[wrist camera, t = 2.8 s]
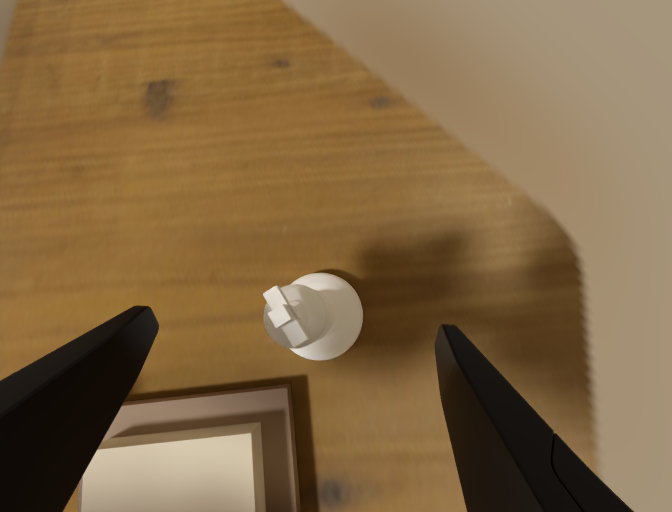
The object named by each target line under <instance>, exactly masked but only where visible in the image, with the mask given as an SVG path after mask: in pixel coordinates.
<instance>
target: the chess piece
mask: <svg viewBox="0 0 672 512" xmlns="http://www.w3.org/2000/svg"><path fill="white" fill-rule="evenodd" d="M263 295H264V297H265V299H266V301H267V303H266V306H265V309H264V325H265V329H266V331H267V333H268V335H269V336H270V337H271V339H272V340H273V341H275V342H276V343H277V344H279V345H281V346H283V347H286V348H290V349H291V350H292V351H293V352H294V353H296V354H298V355H299V356H301V357H304V358H307V359H311V360H328V359H332V358H335V357H337V356H339V355H341V354H343V353H344V352H346V351H347V350H348V349H349V348H350V347H351V346H352V345H353V344H354V342H355V341H356V339H357V338H358V336H359V333H360V331H361V327H362V323H363V309H362V305H361V302H360V299H359V297H358V295H357V293H356V291H355V290H354V289H353V288H352V286H351V285H350V284H349V283H347V282H346V281H345V280H343V279H342V278H340V277H338V276H335V275H333V274H328V273H312V274H308V275H305V276H302V277H300V278H299V279H297V280H295V281H294V282H293V283H292V284H291V285H287V286H284V287H282V288H280V287H279V286H274V287H273V288H271V289H270V290H268V291H266V292H265V293H263Z"/></svg>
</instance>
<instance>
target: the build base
mask: <svg viewBox="0 0 672 512" xmlns="http://www.w3.org/2000/svg"><path fill="white" fill-rule="evenodd" d="M78 512H301V504H300V492H299V479H298V467H297V454H296V442H295V429H294V417H293V404H292V392H291V383H290V384H281V385H272V386H263V387H254V388H245V389H236V390H227V391H218V392H209V393H200V394H191V395H182V396H173V397H164V398H156V399H147V400H138V401H129V402H124V403H123V405H122V407H121V408H120V410H119V412H118V414H117V416H116V417H115V419H114V421H113V423H112V424H111V426H110V428H109V430H108V432H107V433H106V435H105V437H104V439H103V441H102V442H101V444H100V446H99V448H98V450H97V451H96V453H95V455H94V457H93V458H92V460H91V462H90V464H89V466H88V467H87V469H86V471H85V473H84V475H83V476H82V478H81V480H80V482H79V497H78Z"/></svg>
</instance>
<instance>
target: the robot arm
mask: <svg viewBox="0 0 672 512" xmlns="http://www.w3.org/2000/svg"><path fill="white" fill-rule="evenodd" d="M158 329H159V324H158V321H157V319H156V317H155V315H154V313H153V311H152V309H151V308H150V307H149V306H133V307H132V308H130V309H128V310H126V311H124V312H123V313H121V314H119V315H117V316H115V317H114V318H112V319H110V320H108V321H106V322H105V323H103V324H101V325H99V326H98V327H96V328H94V329H92V330H90V331H89V332H87V333H85V334H83V335H81V336H80V337H78V338H76V339H74V340H72V341H71V342H69V343H67V344H65V345H63V346H62V347H60V348H58V349H56V350H55V351H53V352H51V353H49V354H47V355H46V356H44V357H42V358H40V359H38V360H37V361H35V362H33V363H31V364H29V365H28V366H26V367H24V368H22V369H20V370H19V371H17V372H15V373H13V374H12V375H10V376H8V377H6V378H4V379H3V380H1V381H0V512H63V510H64V508H65V507H66V505H67V503H68V501H69V500H70V498H71V496H72V494H73V492H74V491H75V489H76V487H77V485H78V483H79V482H80V480H81V478H82V476H83V475H84V473H85V471H86V469H87V467H88V466H89V464H90V462H91V460H92V458H93V457H94V455H95V453H96V451H97V450H98V448H99V446H100V444H101V442H102V441H103V439H104V437H105V435H106V433H107V432H108V430H109V428H110V426H111V424H112V423H113V421H114V419H115V417H116V416H117V414H118V412H119V410H120V408H121V407H122V405H123V403H124V401H125V399H126V398H127V396H128V394H129V392H130V391H131V389H132V387H133V385H134V383H135V381H136V380H137V378H138V376H139V374H140V371H141V369H142V367H143V365H144V363H145V360H146V358H147V356H148V353H149V351H150V349H151V347H152V344H153V342H154V340H155V337H156V335H157V333H158ZM435 355H436V364H437V372H438V380H439V389H440V396H441V402H442V407H443V411H444V415H445V420H446V424H447V428H448V432H449V436H450V441H451V445H452V449H453V453H454V458H455V462H456V466H457V470H458V475H459V479H460V483H461V487H462V492H463V496H464V500H465V504H466V508H467V512H634V511H633V510H631V509H630V508H629V507H628V506H627V505H626V504H625V503H624V502H623V501H622V500H621V499H620V498H619V497H618V496H617V495H616V494H615V493H614V492H612V490H611V489H610V488H609V487H608V486H607V485H606V484H604V483H603V482H602V481H601V480H600V479H599V478H598V477H597V476H596V475H595V474H594V473H593V472H592V471H591V470H590V469H589V468H588V467H587V466H586V465H585V463H584V462H583V461H582V460H581V459H580V458H579V457H578V456H577V455H576V454H575V453H574V452H573V451H572V450H571V449H570V448H569V447H568V446H567V445H566V444H565V442H564V441H563V440H562V439H561V438H560V437H559V436H558V435H557V434H555V433H554V432H553V430H552V429H551V428H550V426H549V425H548V424H547V423H546V422H545V421H544V420H543V419H542V418H541V417H540V416H539V415H538V413H537V412H536V411H535V410H534V409H533V408H532V407H531V406H530V405H529V404H528V403H527V402H526V401H525V399H524V398H523V397H522V396H521V395H520V394H519V393H518V392H517V391H516V390H515V389H514V388H513V387H512V385H511V384H510V383H509V382H508V381H507V380H506V379H505V378H504V377H503V376H502V375H501V374H500V372H499V371H498V370H497V369H496V368H495V367H494V366H493V365H492V364H491V363H490V362H489V361H488V360H487V358H486V357H485V356H484V355H483V354H482V353H481V352H480V351H479V350H478V349H477V348H476V347H475V345H474V344H473V343H472V342H471V341H470V340H469V339H468V338H467V337H466V336H465V335H464V334H463V333H462V331H461V330H460V329H459V328H458V327H457V326H455V325H450V324H442V325H441V326H440V327H439V331H438V334H437V337H436V341H435Z"/></svg>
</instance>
